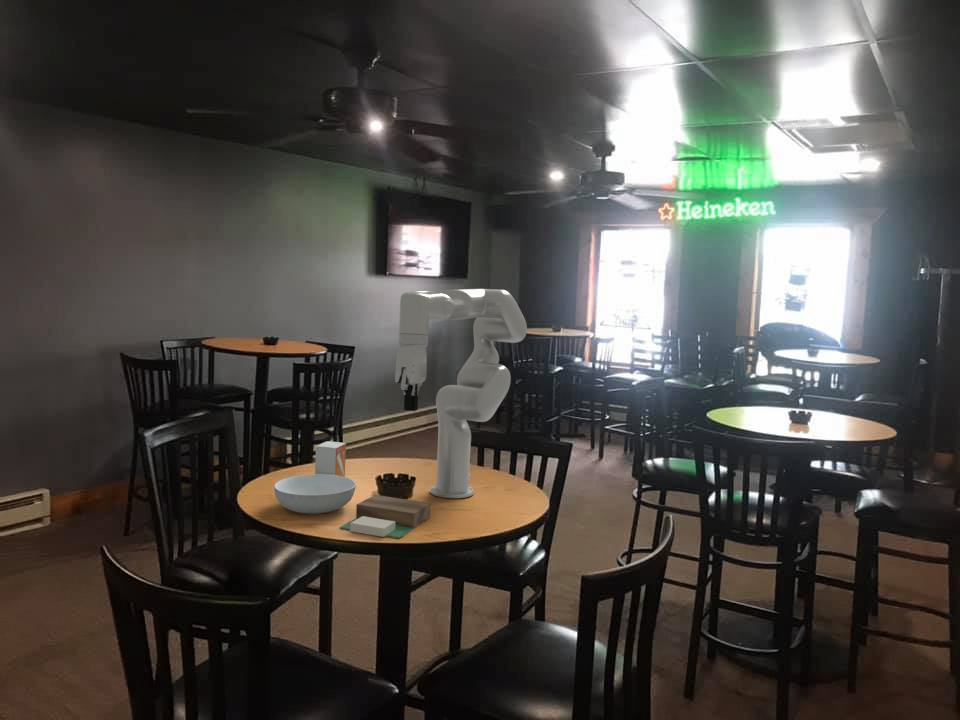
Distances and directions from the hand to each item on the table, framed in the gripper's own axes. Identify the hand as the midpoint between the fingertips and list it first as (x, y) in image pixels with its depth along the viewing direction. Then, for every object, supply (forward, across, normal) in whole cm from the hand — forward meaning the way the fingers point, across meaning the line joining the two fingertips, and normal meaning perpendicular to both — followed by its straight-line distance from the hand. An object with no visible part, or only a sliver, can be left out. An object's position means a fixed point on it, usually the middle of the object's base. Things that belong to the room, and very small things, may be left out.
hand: (410, 409), depth 195 cm
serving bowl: (+27, +10, -22) cm, 37 cm away
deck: (+27, +8, 0) cm, 28 cm away
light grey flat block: (+25, +19, 0) cm, 31 cm away
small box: (+27, -9, -29) cm, 41 cm away
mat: (+27, +17, 0) cm, 32 cm away
